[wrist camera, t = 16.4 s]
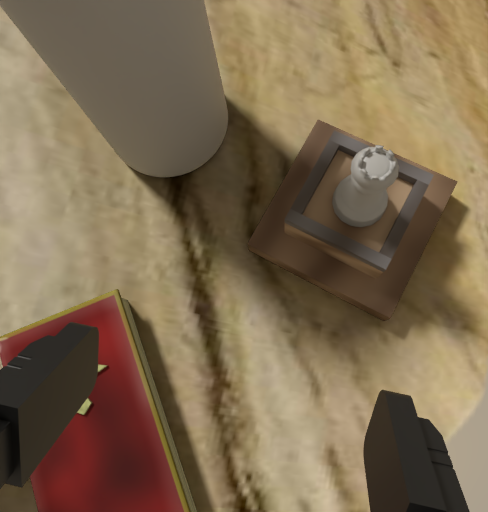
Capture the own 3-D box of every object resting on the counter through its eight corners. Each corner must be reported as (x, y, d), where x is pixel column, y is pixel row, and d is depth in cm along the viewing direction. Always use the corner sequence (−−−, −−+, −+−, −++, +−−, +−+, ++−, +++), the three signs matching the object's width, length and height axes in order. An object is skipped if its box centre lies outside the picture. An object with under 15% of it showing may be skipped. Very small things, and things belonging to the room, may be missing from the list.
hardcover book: (76, 573, 38) (51, 598, 34) (17, 342, 44) (-11, 340, 40) (206, 520, 39) (197, 538, 34) (131, 295, 44) (115, 288, 40)
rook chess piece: (392, 188, 38) (420, 143, 30) (375, 236, 37) (400, 202, 29) (341, 172, 39) (356, 123, 31) (324, 218, 38) (334, 181, 30)
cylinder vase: (162, 53, 49) (45, -245, 25) (253, 110, 47) (220, -162, 23) (88, 139, 48) (-112, -93, 24) (179, 203, 45) (58, 16, 21)
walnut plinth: (249, 250, 43) (243, 231, 37) (316, 132, 46) (321, 95, 39) (383, 320, 41) (402, 312, 34) (447, 191, 43) (475, 162, 37)
